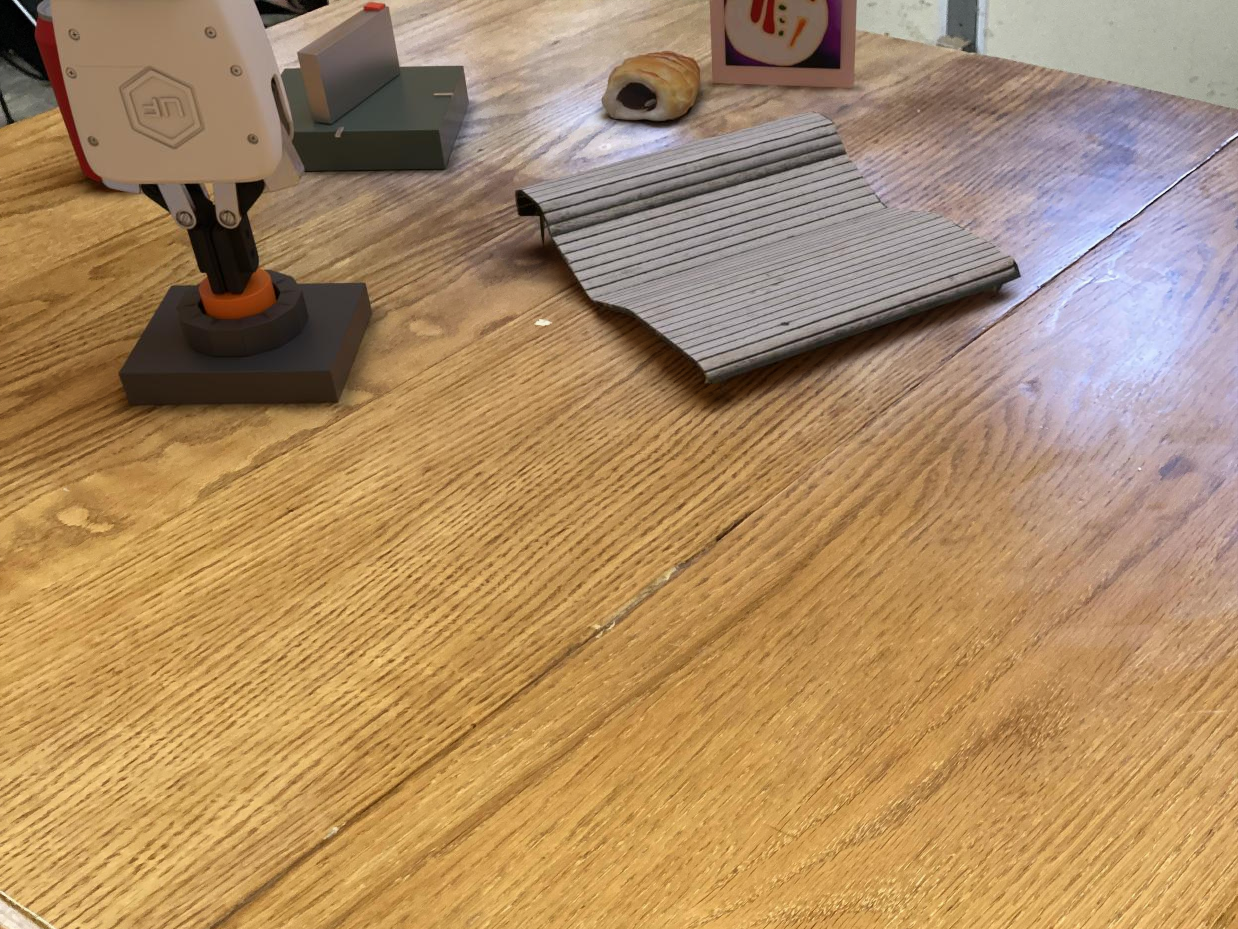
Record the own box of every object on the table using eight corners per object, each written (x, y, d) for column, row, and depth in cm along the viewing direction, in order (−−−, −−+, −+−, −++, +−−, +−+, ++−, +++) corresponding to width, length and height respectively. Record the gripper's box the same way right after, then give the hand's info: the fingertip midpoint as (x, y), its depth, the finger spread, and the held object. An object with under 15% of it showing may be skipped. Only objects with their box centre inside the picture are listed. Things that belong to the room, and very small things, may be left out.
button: (198, 328, 82) (189, 300, 80) (217, 293, 84) (209, 266, 83) (268, 327, 81) (260, 299, 80) (284, 292, 84) (277, 265, 83)
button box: (129, 406, 82) (107, 345, 79) (181, 316, 89) (162, 258, 86) (338, 403, 81) (323, 342, 79) (372, 313, 89) (359, 255, 86)
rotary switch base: (249, 179, 103) (237, 136, 101) (295, 100, 114) (285, 60, 112) (444, 176, 103) (437, 133, 101) (472, 97, 114) (466, 57, 112)
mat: (707, 413, 80) (704, 339, 77) (519, 249, 95) (510, 182, 92) (1021, 294, 89) (1029, 224, 86) (805, 162, 104) (805, 98, 101)
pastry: (643, 74, 117) (640, 26, 114) (720, 84, 115) (719, 35, 112) (597, 119, 110) (593, 69, 108) (679, 130, 108) (677, 80, 106)
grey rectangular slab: (331, 124, 103) (315, 51, 99) (312, 121, 103) (295, 48, 100) (401, 73, 110) (388, 2, 106) (382, 70, 110) (369, 0, 107)
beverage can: (184, 182, 103) (134, 11, 95) (86, 199, 101) (26, 27, 93) (176, 145, 108) (127, -20, 100) (82, 161, 106) (24, -6, 98)
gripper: (-47, -29, 67) (82, 317, 79) (271, -34, 67) (351, 314, 79) (14, -79, 72) (126, 252, 85) (308, -83, 72) (377, 249, 85)
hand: (234, 281), depth 82 cm, fingers closed
